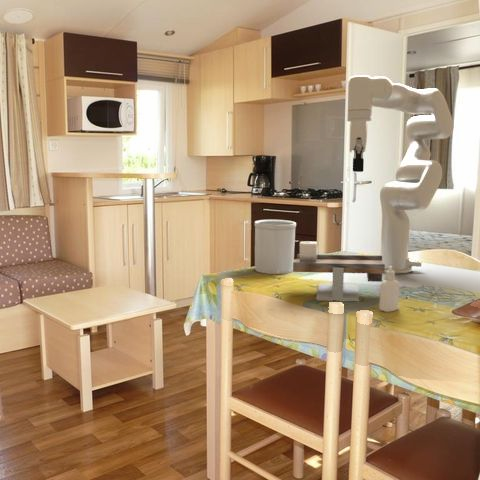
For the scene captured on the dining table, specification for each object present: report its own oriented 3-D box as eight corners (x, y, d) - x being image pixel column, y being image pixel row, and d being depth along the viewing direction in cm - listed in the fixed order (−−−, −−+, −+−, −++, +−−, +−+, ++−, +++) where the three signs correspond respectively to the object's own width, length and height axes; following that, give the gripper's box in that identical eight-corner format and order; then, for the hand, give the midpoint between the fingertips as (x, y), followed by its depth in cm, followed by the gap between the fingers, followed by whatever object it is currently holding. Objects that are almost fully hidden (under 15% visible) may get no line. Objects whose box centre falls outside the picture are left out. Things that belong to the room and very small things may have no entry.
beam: (381, 273, 180) (382, 255, 179) (384, 284, 166) (384, 264, 165) (297, 271, 184) (297, 254, 184) (293, 281, 171) (293, 262, 170)
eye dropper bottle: (376, 307, 161) (377, 265, 159) (396, 307, 161) (397, 264, 159) (381, 312, 157) (383, 268, 155) (401, 311, 157) (403, 268, 155)
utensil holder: (299, 267, 214) (300, 220, 211) (289, 276, 200) (290, 225, 197) (261, 265, 219) (261, 218, 216) (248, 273, 205) (248, 223, 202)
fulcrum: (357, 287, 183) (358, 258, 182) (358, 302, 167) (359, 269, 165) (319, 286, 185) (320, 256, 184) (316, 300, 169) (317, 267, 167)
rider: (317, 260, 178) (317, 241, 178) (316, 263, 174) (316, 244, 173) (301, 260, 179) (301, 241, 178) (299, 263, 175) (299, 243, 174)
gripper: (347, 117, 193) (346, 169, 196) (347, 115, 176) (345, 172, 179) (370, 117, 192) (368, 169, 195) (372, 115, 175) (370, 172, 178)
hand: (357, 170), depth 187 cm, fingers open, 9 cm apart
